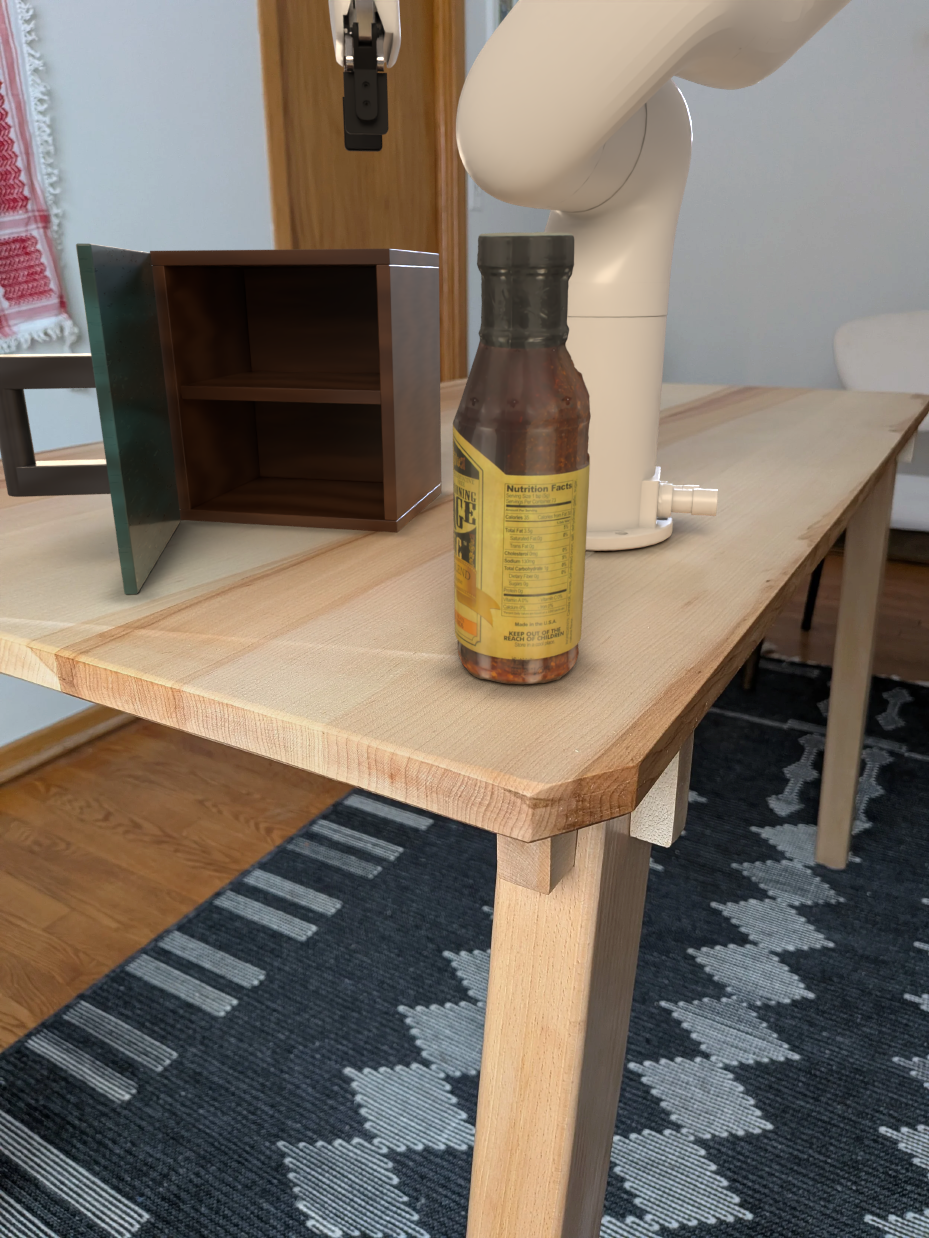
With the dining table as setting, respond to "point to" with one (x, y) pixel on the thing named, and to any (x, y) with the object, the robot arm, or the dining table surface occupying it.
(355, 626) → the dining table surface
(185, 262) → the cupboard
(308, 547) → the dining table surface
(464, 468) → the sauce bottle
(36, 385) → the cupboard door
